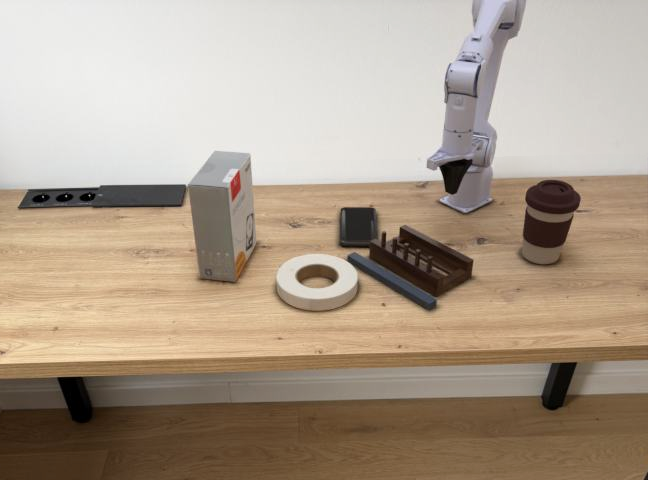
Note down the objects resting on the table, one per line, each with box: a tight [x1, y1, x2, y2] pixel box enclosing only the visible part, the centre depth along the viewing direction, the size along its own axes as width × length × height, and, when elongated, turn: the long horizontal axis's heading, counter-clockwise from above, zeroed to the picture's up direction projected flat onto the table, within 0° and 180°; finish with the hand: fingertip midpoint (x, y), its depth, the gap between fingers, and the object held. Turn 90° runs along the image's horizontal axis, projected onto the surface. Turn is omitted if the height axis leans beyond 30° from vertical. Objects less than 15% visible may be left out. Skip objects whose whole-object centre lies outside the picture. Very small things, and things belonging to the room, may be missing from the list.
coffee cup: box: [521, 179, 582, 265], centre depth 133 cm, size 10×10×15 cm
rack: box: [368, 224, 474, 298], centre depth 132 cm, size 10×18×7 cm, turn 40°
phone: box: [339, 206, 379, 248], centre depth 146 cm, size 8×1×15 cm
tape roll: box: [275, 253, 359, 312], centre depth 129 cm, size 16×15×3 cm
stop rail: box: [346, 251, 438, 311], centre depth 130 cm, size 2×22×2 cm, turn 40°
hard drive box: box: [187, 150, 258, 283], centre depth 131 cm, size 16×8×20 cm, turn 168°
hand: (451, 192), depth 139 cm, fingers closed
